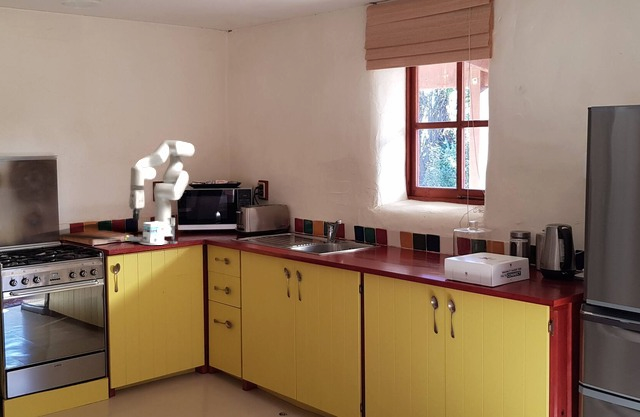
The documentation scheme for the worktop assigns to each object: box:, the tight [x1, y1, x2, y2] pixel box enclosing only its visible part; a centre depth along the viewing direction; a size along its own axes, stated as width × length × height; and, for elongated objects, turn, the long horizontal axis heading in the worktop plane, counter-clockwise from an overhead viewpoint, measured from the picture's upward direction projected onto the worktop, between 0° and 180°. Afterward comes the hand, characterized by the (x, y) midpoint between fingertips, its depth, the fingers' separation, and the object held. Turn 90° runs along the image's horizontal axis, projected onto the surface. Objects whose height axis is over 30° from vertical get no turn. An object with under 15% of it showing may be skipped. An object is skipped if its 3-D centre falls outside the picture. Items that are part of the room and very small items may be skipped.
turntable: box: [123, 234, 169, 246], centre depth 424 cm, size 16×26×3 cm, turn 74°
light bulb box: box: [142, 221, 165, 243], centre depth 422 cm, size 11×7×11 cm, turn 145°
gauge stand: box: [167, 217, 178, 245], centre depth 427 cm, size 4×5×15 cm
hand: (135, 220), depth 431 cm, fingers closed
